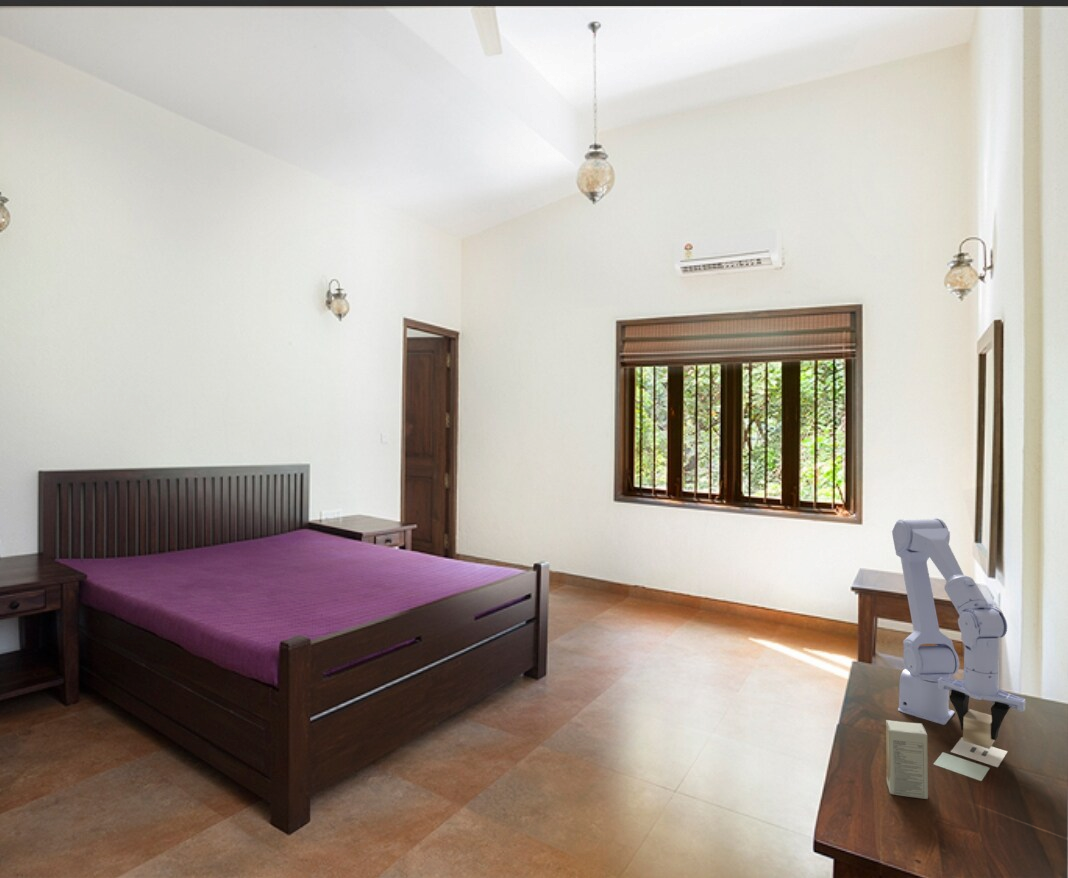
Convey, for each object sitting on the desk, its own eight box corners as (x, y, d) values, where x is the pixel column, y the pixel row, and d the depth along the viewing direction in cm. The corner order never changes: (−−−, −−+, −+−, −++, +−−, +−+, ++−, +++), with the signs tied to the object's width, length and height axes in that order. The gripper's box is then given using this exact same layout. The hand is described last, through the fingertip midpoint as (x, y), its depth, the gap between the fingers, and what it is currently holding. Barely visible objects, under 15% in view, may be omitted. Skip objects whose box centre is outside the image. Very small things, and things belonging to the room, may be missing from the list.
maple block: (963, 740, 133) (963, 716, 133) (969, 732, 137) (969, 709, 136) (989, 748, 130) (990, 724, 130) (995, 740, 133) (995, 716, 133)
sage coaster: (933, 765, 129) (933, 764, 129) (942, 753, 133) (942, 752, 133) (981, 782, 123) (981, 780, 123) (989, 769, 128) (989, 767, 128)
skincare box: (922, 786, 122) (924, 723, 122) (928, 800, 118) (929, 734, 118) (884, 781, 125) (885, 718, 124) (888, 794, 120) (889, 729, 120)
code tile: (950, 752, 134) (950, 751, 134) (961, 737, 139) (961, 736, 139) (997, 768, 128) (997, 767, 128) (1007, 752, 133) (1007, 751, 133)
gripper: (933, 663, 135) (932, 727, 136) (1020, 685, 124) (1018, 754, 125) (944, 653, 140) (943, 715, 141) (1028, 673, 129) (1026, 740, 130)
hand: (979, 733), depth 133 cm, fingers closed on maple block, 4 cm apart
